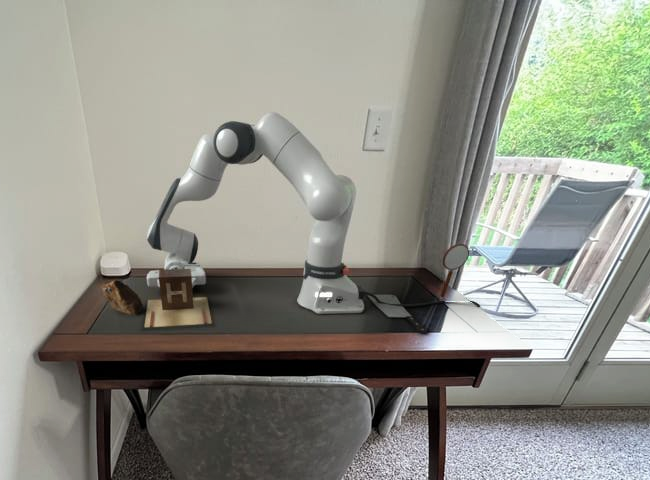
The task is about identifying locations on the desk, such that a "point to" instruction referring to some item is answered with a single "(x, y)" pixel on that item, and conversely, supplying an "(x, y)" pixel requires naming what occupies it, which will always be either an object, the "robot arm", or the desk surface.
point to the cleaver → (396, 310)
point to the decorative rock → (122, 297)
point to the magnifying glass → (454, 261)
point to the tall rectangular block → (176, 289)
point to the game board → (177, 314)
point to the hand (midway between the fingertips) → (176, 286)
